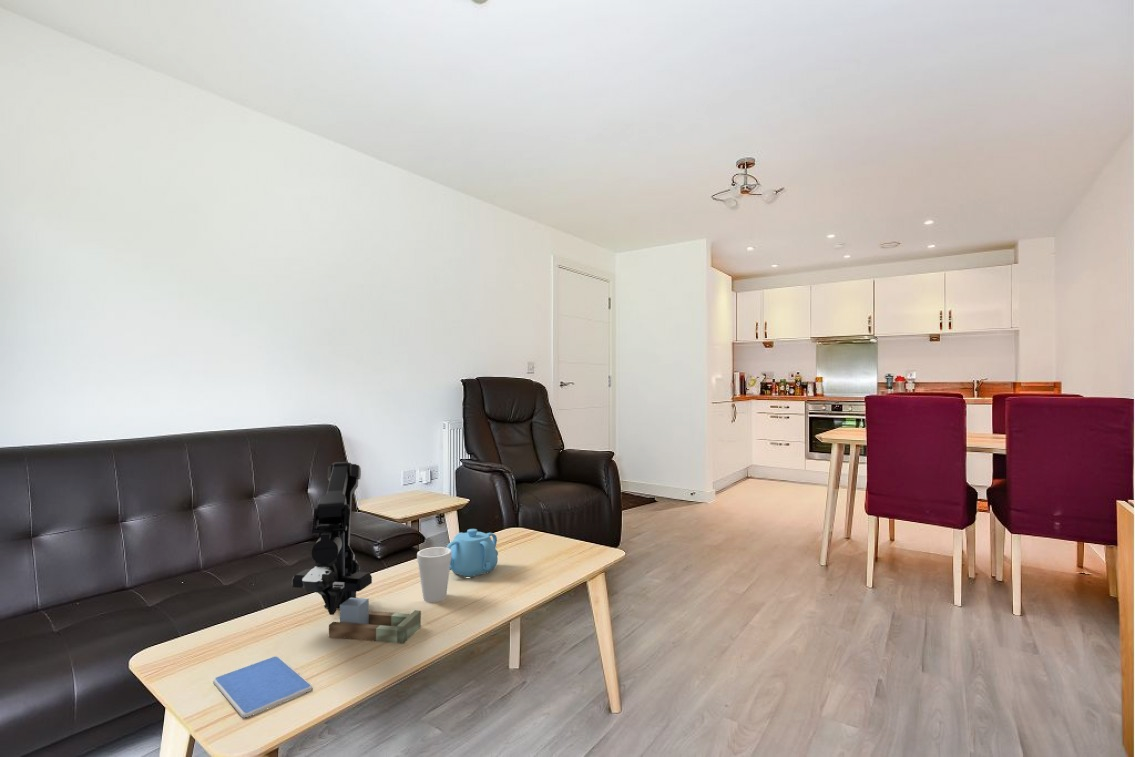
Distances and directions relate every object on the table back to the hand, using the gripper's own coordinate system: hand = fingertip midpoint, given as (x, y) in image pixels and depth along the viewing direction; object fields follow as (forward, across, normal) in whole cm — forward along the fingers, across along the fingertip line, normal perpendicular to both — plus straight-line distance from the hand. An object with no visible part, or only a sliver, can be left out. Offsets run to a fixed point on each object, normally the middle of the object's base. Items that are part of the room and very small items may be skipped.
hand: (332, 614), depth 131 cm
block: (+4, +6, 0) cm, 7 cm away
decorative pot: (+4, +20, +44) cm, 49 cm away
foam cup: (+4, +17, +22) cm, 28 cm away
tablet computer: (+4, +2, -25) cm, 25 cm away
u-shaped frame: (+4, +11, 0) cm, 12 cm away
